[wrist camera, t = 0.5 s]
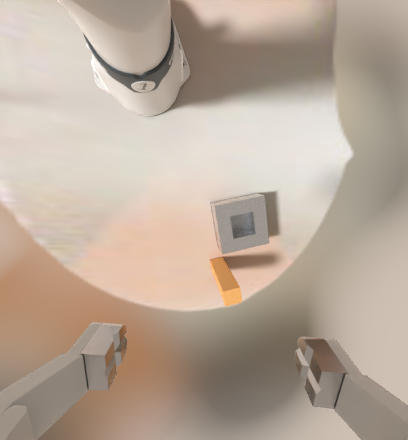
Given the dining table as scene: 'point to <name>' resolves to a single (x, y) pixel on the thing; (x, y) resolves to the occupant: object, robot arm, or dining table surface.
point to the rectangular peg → (226, 282)
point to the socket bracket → (240, 222)
